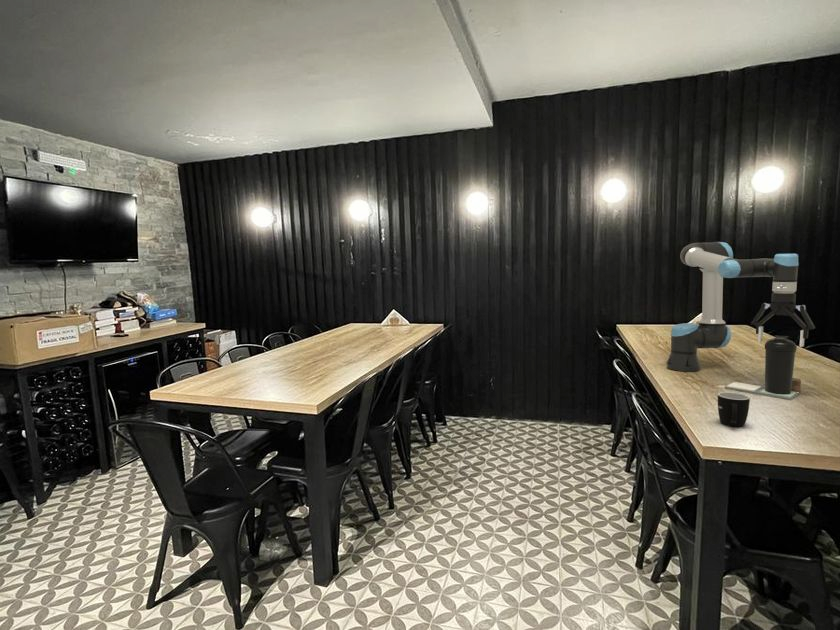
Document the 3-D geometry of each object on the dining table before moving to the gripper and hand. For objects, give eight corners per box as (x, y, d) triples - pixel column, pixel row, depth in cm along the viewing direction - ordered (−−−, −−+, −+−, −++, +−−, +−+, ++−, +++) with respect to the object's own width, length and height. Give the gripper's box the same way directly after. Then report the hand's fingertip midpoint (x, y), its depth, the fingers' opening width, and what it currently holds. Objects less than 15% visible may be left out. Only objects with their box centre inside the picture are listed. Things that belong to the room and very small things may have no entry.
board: (724, 388, 194) (724, 385, 193) (734, 383, 200) (734, 381, 200) (790, 400, 175) (791, 397, 175) (799, 394, 182) (799, 391, 181)
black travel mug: (794, 390, 183) (798, 336, 180) (792, 396, 176) (796, 339, 173) (763, 386, 190) (766, 333, 187) (760, 392, 182) (763, 337, 180)
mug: (716, 418, 159) (717, 390, 158) (747, 421, 154) (748, 393, 153) (717, 429, 149) (718, 400, 148) (750, 433, 144) (752, 403, 143)
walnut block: (784, 391, 187) (785, 379, 186) (784, 388, 191) (785, 377, 190) (800, 393, 184) (800, 381, 183) (799, 390, 188) (800, 378, 187)
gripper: (743, 291, 186) (741, 341, 189) (822, 294, 166) (817, 349, 169) (750, 290, 190) (747, 338, 193) (827, 292, 170) (823, 346, 173)
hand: (780, 344), depth 181 cm, fingers open, 13 cm apart
